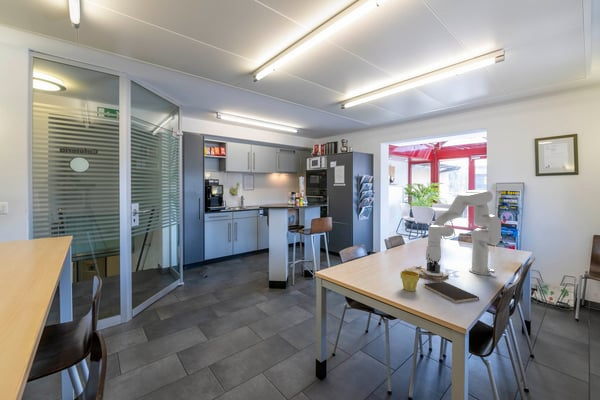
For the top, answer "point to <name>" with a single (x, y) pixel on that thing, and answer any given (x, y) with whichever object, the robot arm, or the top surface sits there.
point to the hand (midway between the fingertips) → (433, 270)
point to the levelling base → (421, 274)
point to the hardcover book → (451, 292)
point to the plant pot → (409, 280)
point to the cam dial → (433, 273)
